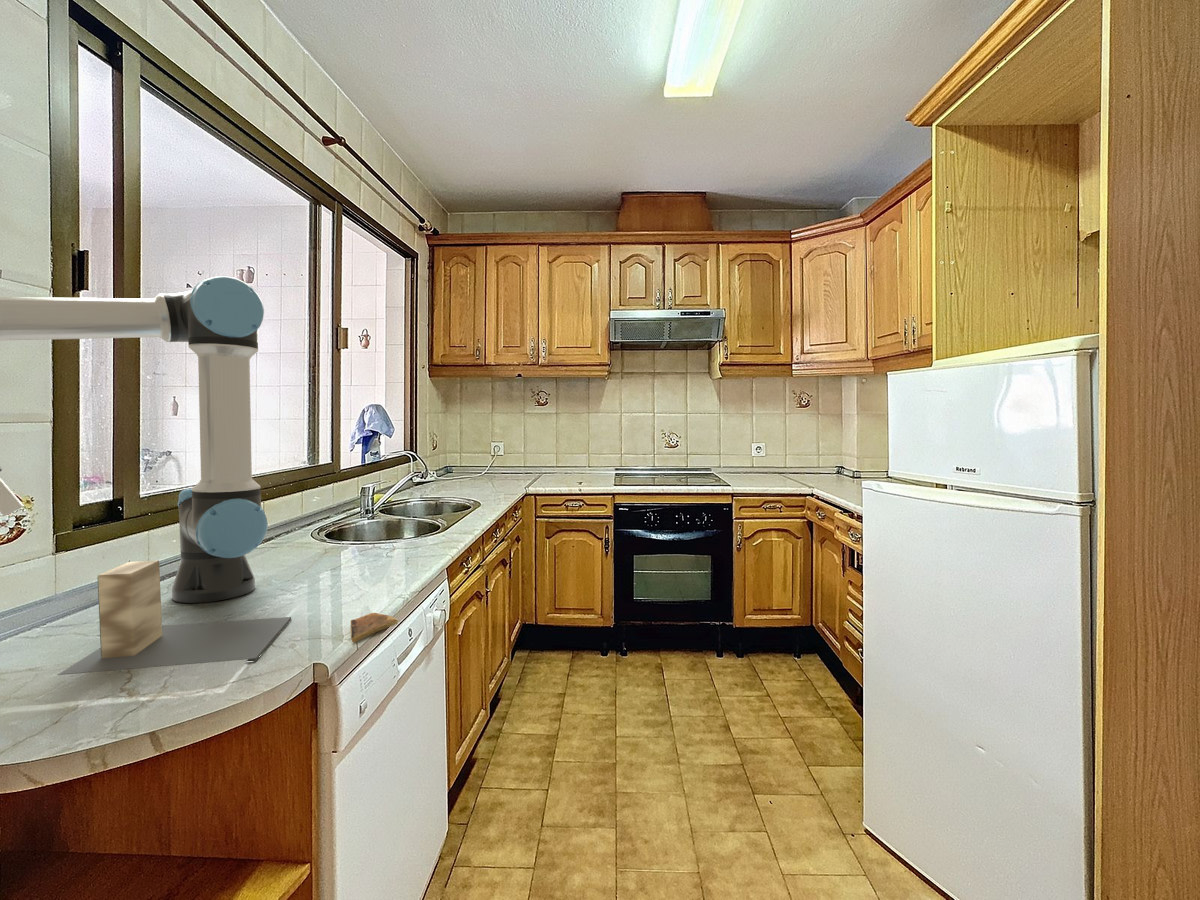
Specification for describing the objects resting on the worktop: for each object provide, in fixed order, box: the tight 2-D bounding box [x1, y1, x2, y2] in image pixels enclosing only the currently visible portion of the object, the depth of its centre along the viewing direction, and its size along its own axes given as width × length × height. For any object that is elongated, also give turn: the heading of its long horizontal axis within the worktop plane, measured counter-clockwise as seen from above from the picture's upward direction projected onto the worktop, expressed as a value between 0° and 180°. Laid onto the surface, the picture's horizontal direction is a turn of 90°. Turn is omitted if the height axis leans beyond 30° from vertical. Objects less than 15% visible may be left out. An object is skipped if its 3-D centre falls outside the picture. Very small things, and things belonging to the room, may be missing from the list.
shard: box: [350, 612, 399, 643], centre depth 107 cm, size 11×8×2 cm
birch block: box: [97, 559, 163, 658], centre depth 98 cm, size 5×9×13 cm, turn 13°
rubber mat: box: [57, 616, 292, 676], centre depth 100 cm, size 26×20×1 cm
